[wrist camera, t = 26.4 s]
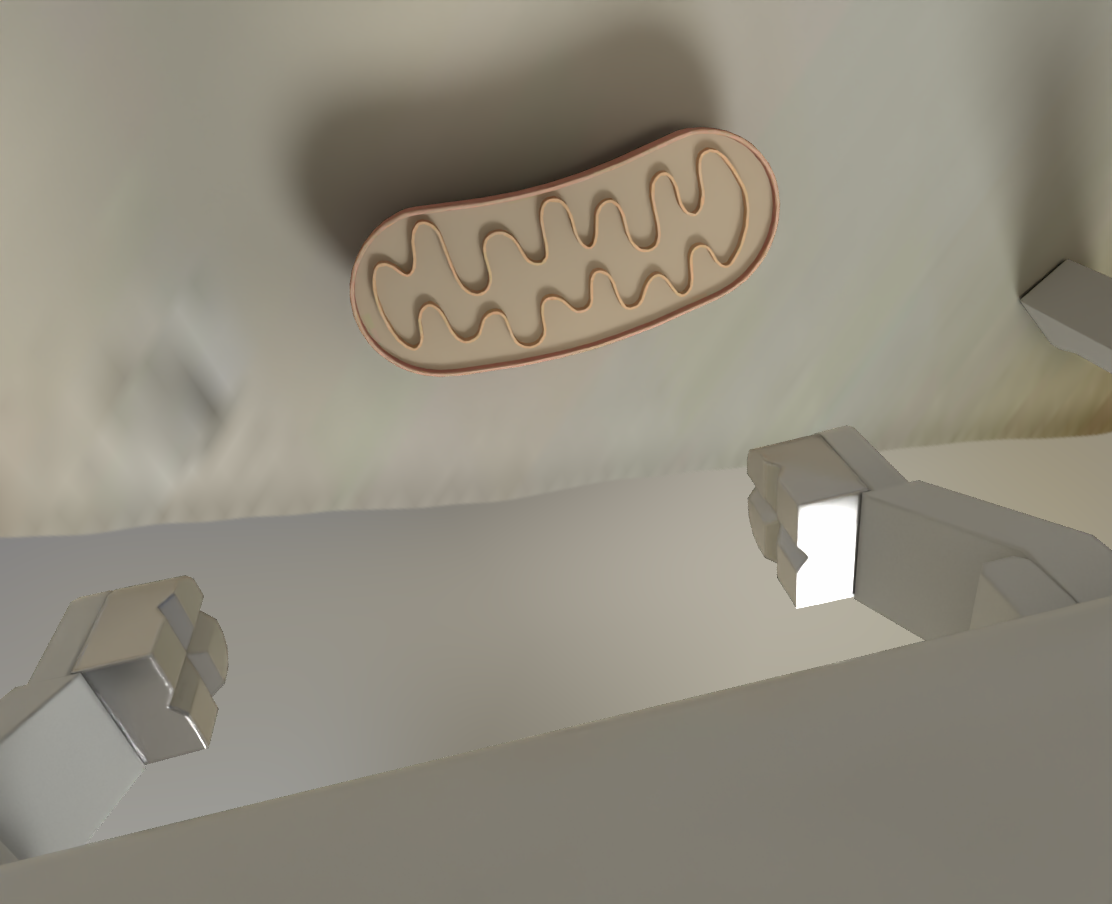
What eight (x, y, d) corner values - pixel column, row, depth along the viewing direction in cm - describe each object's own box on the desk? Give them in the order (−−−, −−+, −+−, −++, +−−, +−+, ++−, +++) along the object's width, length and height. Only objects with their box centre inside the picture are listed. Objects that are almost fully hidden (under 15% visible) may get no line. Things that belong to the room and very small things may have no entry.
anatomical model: (736, 93, 43) (773, 106, 39) (753, 265, 48) (787, 293, 44) (328, 210, 42) (321, 237, 38) (391, 370, 48) (391, 409, 43)
